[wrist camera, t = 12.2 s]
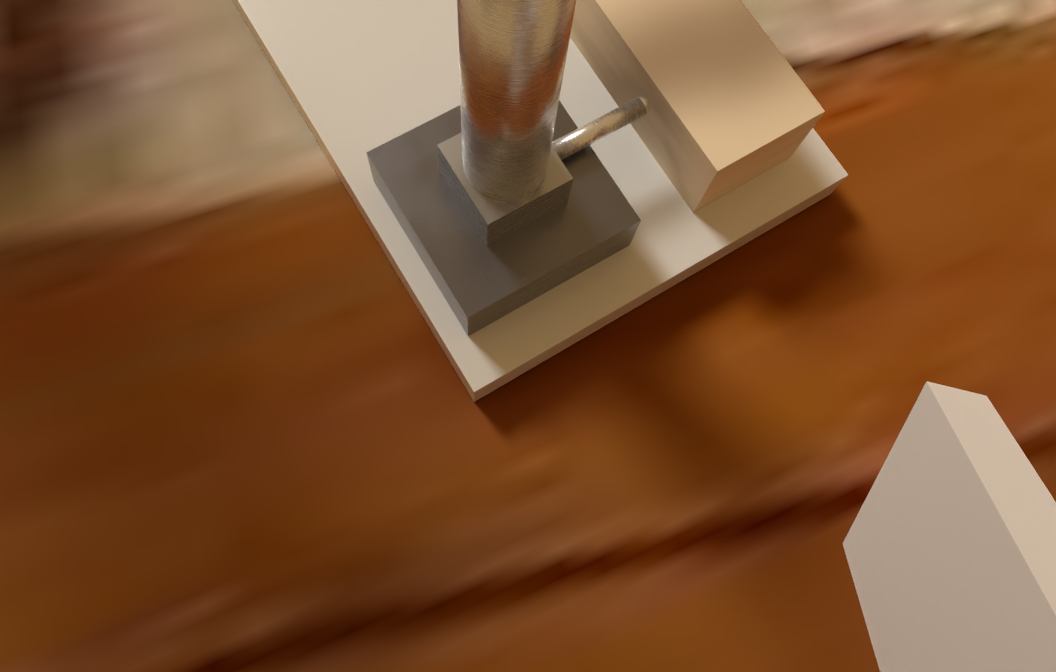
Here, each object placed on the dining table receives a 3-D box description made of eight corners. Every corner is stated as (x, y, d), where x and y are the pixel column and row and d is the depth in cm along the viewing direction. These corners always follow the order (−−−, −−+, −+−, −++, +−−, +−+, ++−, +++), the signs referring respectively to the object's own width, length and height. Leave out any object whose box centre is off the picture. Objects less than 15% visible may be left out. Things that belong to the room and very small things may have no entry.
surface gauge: (373, 181, 28) (290, -142, 15) (586, 73, 29) (667, -302, 17) (467, 336, 27) (460, 122, 14) (684, 214, 28) (850, -77, 16)
